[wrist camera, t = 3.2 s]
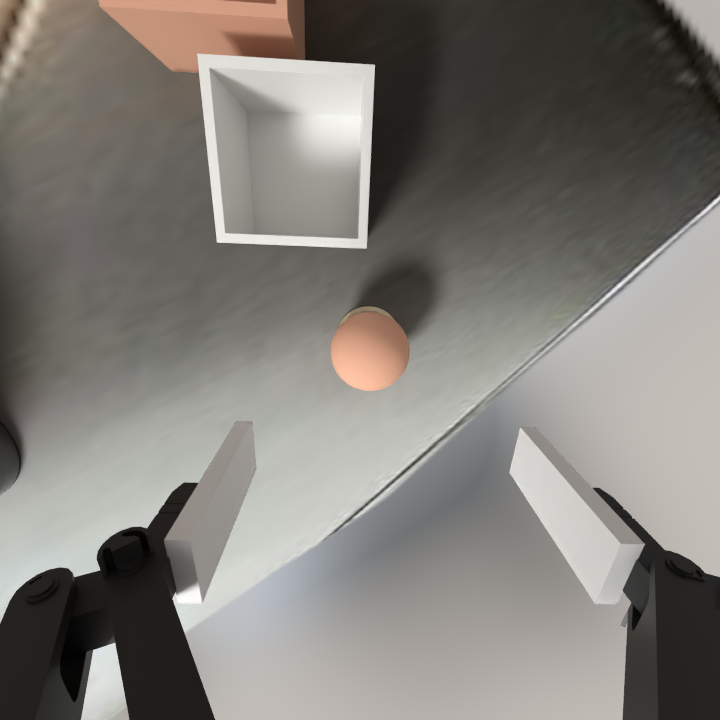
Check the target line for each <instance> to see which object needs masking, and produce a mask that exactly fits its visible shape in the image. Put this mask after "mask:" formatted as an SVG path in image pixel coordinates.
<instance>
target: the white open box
mask: <svg viewBox="0 0 720 720" xmlns="http://www.w3.org/2000/svg"><path fill="white" fill-rule="evenodd" d="M197 57H198V66H199V76H200V85H201V95H202V104H203V114H204V123H205V133H206V142H207V152H208V161H209V171H210V180H211V189H212V199H213V208H214V218H215V227H216V237H217V242H221V243H245V244H269V245H293V246H317V247H341V248H365V249H367V229H368V207H369V185H370V163H371V141H372V119H373V97H374V75H375V65H370V64H354V63H338V62H323V61H307V60H291V59H275V58H259V57H243V56H228V55H212V54H197Z"/></svg>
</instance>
